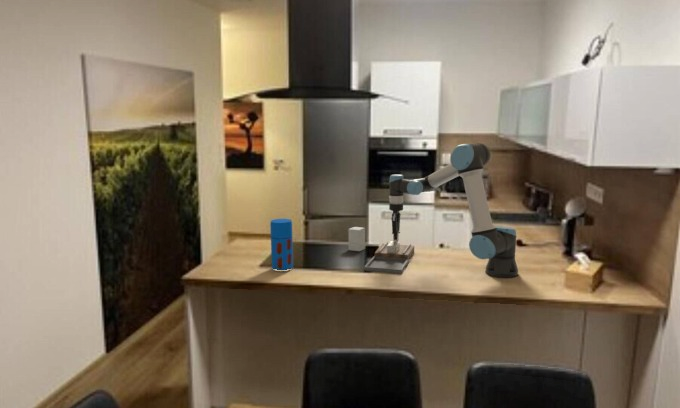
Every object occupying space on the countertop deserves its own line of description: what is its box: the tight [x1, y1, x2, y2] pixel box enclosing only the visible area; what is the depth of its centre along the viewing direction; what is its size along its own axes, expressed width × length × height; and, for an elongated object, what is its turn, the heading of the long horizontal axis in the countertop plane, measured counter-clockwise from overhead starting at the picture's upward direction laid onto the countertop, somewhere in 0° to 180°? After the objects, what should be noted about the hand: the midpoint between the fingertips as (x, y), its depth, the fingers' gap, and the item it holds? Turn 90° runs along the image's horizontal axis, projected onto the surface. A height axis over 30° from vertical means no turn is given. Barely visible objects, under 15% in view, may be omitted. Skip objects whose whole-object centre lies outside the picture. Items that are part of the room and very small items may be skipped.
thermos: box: [269, 218, 294, 270], centre depth 252 cm, size 11×11×25 cm
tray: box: [363, 255, 410, 275], centre depth 257 cm, size 19×20×2 cm
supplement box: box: [348, 226, 366, 252], centre depth 290 cm, size 7×7×13 cm
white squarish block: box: [389, 240, 401, 250], centre depth 274 cm, size 5×5×4 cm
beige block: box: [387, 242, 398, 253], centre depth 269 cm, size 5×5×4 cm
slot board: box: [374, 241, 415, 261], centre depth 276 cm, size 18×20×5 cm
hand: (395, 244), depth 277 cm, fingers closed
